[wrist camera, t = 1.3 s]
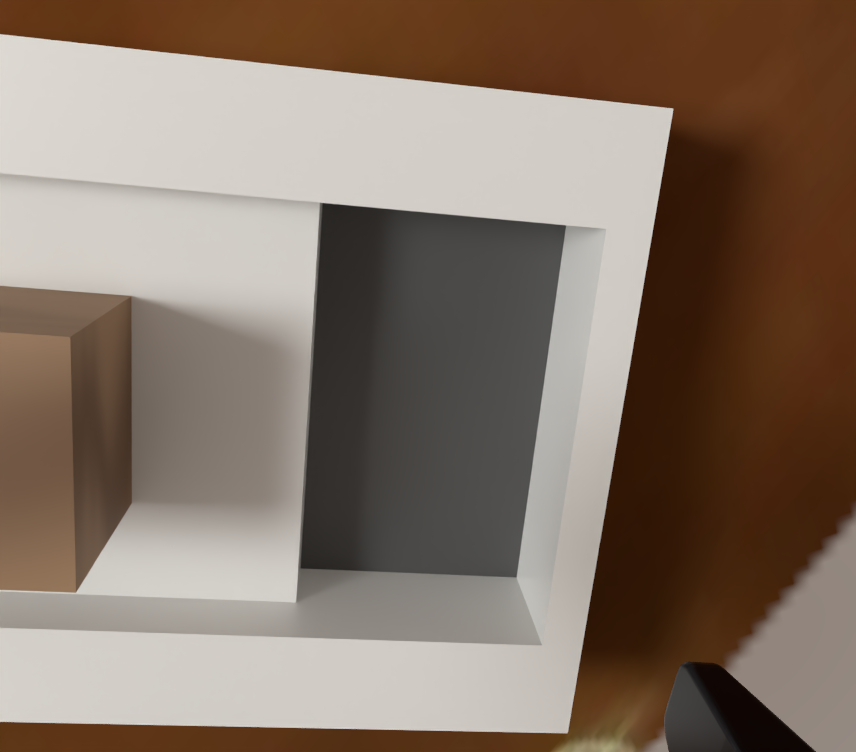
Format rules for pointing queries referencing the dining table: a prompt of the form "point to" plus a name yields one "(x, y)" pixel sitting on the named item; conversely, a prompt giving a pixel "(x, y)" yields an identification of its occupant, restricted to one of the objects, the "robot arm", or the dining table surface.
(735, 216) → the dining table surface
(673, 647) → the dining table surface
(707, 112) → the dining table surface
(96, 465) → the walnut block
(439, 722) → the box
